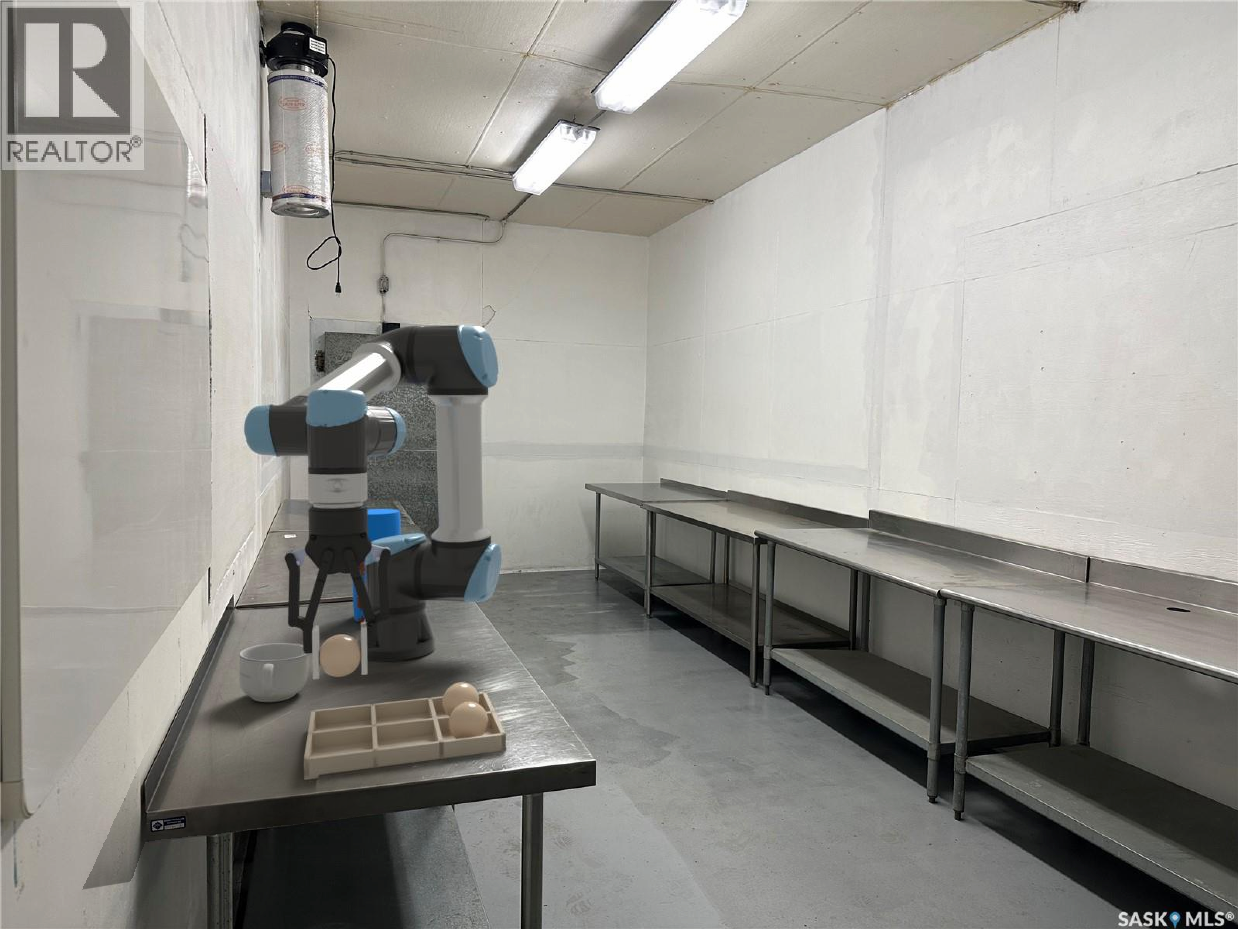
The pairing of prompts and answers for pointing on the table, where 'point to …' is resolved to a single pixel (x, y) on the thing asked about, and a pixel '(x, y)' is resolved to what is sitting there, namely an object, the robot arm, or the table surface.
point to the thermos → (378, 527)
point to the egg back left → (459, 696)
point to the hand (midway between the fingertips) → (340, 673)
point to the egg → (340, 655)
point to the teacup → (273, 671)
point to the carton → (391, 735)
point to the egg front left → (468, 720)
